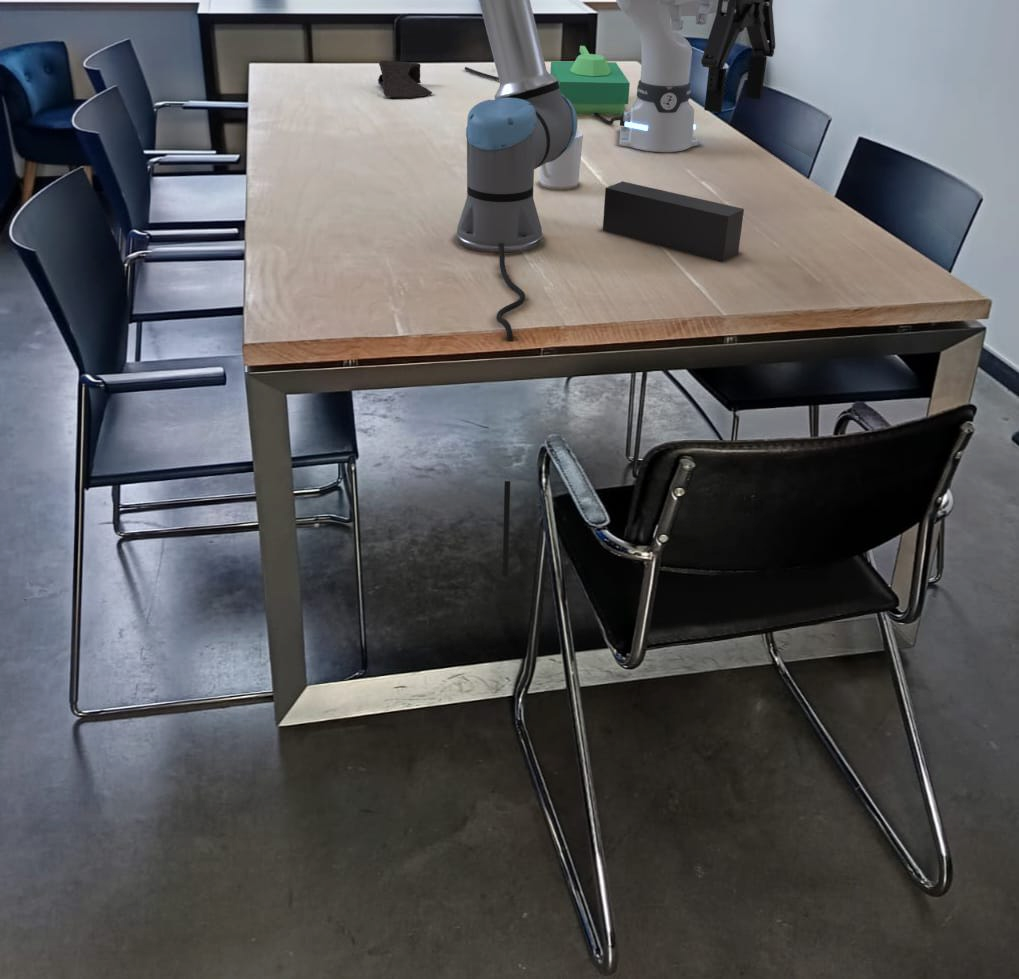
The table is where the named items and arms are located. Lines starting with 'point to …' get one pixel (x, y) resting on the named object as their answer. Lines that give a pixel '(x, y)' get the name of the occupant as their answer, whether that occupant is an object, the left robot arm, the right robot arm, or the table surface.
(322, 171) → the table surface
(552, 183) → the mug
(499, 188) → the left robot arm
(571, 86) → the toy tank
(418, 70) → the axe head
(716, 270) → the table surface
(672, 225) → the bar
